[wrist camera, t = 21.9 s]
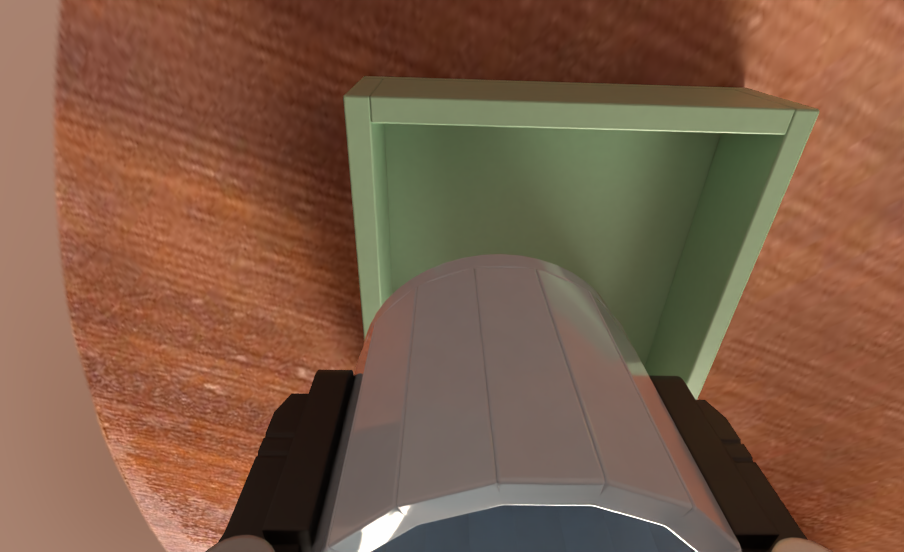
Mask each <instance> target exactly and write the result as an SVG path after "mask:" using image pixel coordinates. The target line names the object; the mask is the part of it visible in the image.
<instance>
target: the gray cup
mask: <svg viewBox="0 0 904 552" xmlns="http://www.w3.org/2000/svg"><path fill="white" fill-rule="evenodd" d="M311 552H742V549H741V546H740V544H739V542H738V540H737V538H736V536H735V535H734V533H733V531H732V529H731V527H730V525H729V523H728V522H727V520H726V518H725V516H724V514H723V512H722V510H721V509H720V507H719V505H718V503H717V501H716V499H715V497H714V496H713V494H712V492H711V490H710V488H709V486H708V485H707V483H706V481H705V479H704V477H703V475H702V473H701V472H700V470H699V468H698V466H697V464H696V462H695V460H694V459H693V457H692V455H691V453H690V451H689V449H688V447H687V446H686V444H685V442H684V440H683V438H682V436H681V434H680V433H679V431H678V429H677V427H676V425H675V423H674V421H673V420H672V418H671V416H670V414H669V412H668V410H667V409H666V407H665V405H664V403H663V401H662V399H661V397H660V396H659V394H658V392H657V390H656V388H655V386H654V384H653V383H652V381H651V379H650V377H649V375H648V373H647V371H646V370H645V368H644V366H643V364H642V362H641V360H640V358H639V357H638V355H637V353H636V351H635V349H634V347H633V345H632V344H631V342H630V340H629V338H628V336H627V334H626V333H625V331H624V329H623V327H622V325H621V323H620V322H619V321H618V320H617V319H616V318H615V317H614V316H613V314H612V312H611V310H610V308H609V307H608V305H607V303H606V302H605V301H604V300H603V298H602V297H601V296H600V295H599V293H598V292H597V291H596V290H595V289H593V288H592V287H591V286H590V285H589V284H588V283H587V282H586V281H584V280H583V279H581V278H580V277H578V276H577V275H575V274H574V273H572V272H570V271H568V270H566V269H564V268H562V267H560V266H558V265H555V264H552V263H549V262H546V261H543V260H540V259H536V258H531V257H526V256H521V255H509V254H486V255H477V256H470V257H464V258H460V259H456V260H453V261H449V262H445V263H443V264H440V265H438V266H435V267H433V268H430V269H428V270H426V271H424V272H423V273H421V274H419V275H417V276H415V277H414V278H412V279H411V280H409V281H408V282H407V283H405V284H404V285H402V286H401V287H400V288H398V289H397V290H396V291H395V292H394V293H393V294H392V295H391V296H390V297H389V298H388V299H387V300H386V301H385V302H384V304H383V305H382V306H381V308H380V309H379V310H378V312H377V313H376V315H375V317H374V318H373V320H372V322H371V324H370V326H369V329H368V332H367V335H366V337H365V341H364V345H363V349H362V351H361V354H360V356H359V358H358V361H357V365H356V369H355V373H354V377H353V382H352V386H351V390H350V394H349V398H348V402H347V406H346V410H345V414H344V419H343V423H342V427H341V431H340V435H339V439H338V443H337V447H336V451H335V456H334V460H333V464H332V468H331V472H330V476H329V480H328V484H327V488H326V493H325V497H324V501H323V505H322V509H321V513H320V517H319V521H318V525H317V529H316V534H315V538H314V542H313V546H312V550H311Z"/></svg>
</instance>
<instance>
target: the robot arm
mask: <svg viewBox="0 0 904 552" xmlns="http://www.w3.org/2000/svg"><path fill="white" fill-rule="evenodd" d="M353 377H354V374H353V371H352V370H318V371H317V372H316V375H315V377H314V380H313V383H312V386H311V389H310V392H309V394H291V395H290V396H289V397H288V398H287V399H286V400H285V401H284V402H283V404H282V405H281V406H280V407H279V408H278V409H277V410H276V411H275V412H274V414H273V417H272V419H271V422H270V424H269V427H268V429H267V431H266V437H265V438H264V439H263V441H262V444H261V446H260V448H259V451H258V456H256V458H255V460H254V463H253V465H252V468H251V470H250V473H249V475H248V477H247V480H246V482H245V485H244V487H243V490H242V492H241V494H240V497H239V499H238V502H237V504H236V507H235V509H234V511H233V514H232V516H231V519H230V521H229V523H228V526H227V528H226V530H225V532H224V534H223V536H222V537H221V539H220V540H219V542H218V543H217V544H215V545H214V546H212V547H211V548H209V549H208V550H207V551H206V552H311V550H312V546H313V542H314V538H315V534H316V529H317V525H318V521H319V517H320V513H321V509H322V505H323V501H324V497H325V493H326V488H327V484H328V480H329V476H330V472H331V468H332V464H333V460H334V456H335V451H336V447H337V443H338V439H339V435H340V431H341V427H342V423H343V419H344V414H345V410H346V406H347V402H348V398H349V394H350V390H351V386H352V382H353ZM649 377H650V379H651V381H652V383H653V384H654V386H655V388H656V390H657V392H658V394H659V396H660V397H661V399H662V401H663V403H664V405H665V407H666V409H667V410H668V412H669V414H670V416H671V418H672V420H673V421H674V423H675V425H676V427H677V429H678V431H679V433H680V434H681V436H682V438H683V440H684V442H685V444H686V446H687V447H688V449H689V451H690V453H691V455H692V457H693V459H694V460H695V462H696V464H697V466H698V468H699V470H700V472H701V473H702V475H703V477H704V479H705V481H706V483H707V485H708V486H709V488H710V490H711V492H712V494H713V496H714V497H715V499H716V501H717V503H718V505H719V507H720V509H721V510H722V512H723V514H724V516H725V518H726V520H727V522H728V523H729V525H730V527H731V529H732V531H733V533H734V535H735V536H736V538H737V540H738V542H739V544H740V546H741V549H742V552H833V551H831V550H829V549H828V548H826V547H824V546H822V545H820V544H818V543H816V542H813V541H810V540H808V539H807V538H806V536H805V535H804V534H803V532H802V531H801V529H800V528H799V526H798V525H797V523H796V522H795V521H794V519H793V518H792V516H791V515H790V513H789V512H788V510H787V509H786V507H785V506H784V504H783V503H782V501H781V500H780V498H779V497H778V495H777V494H776V492H775V491H774V489H773V488H772V486H771V485H770V483H769V482H768V480H767V479H766V477H765V476H764V474H763V473H762V471H761V470H760V468H759V467H758V465H757V464H756V462H753V460H752V456H751V455H750V453H749V452H748V450H747V449H746V447H745V446H744V444H741V442H740V438H739V437H738V435H737V434H736V432H735V431H734V429H733V428H732V426H731V425H730V423H729V422H728V420H727V419H726V418H725V417H724V416H723V415H722V414H721V413H719V412H718V411H717V410H716V409H715V408H714V407H712V406H711V405H710V404H709V403H708V402H707V401H705V400H696V399H695V398H694V396H693V394H692V393H691V391H690V390H689V388H688V386H687V385H686V383H685V382H684V380H683V379H682V378H681V377H679V376H654V375H649Z"/></svg>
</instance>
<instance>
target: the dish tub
mask: <svg viewBox="0 0 904 552" xmlns="http://www.w3.org/2000/svg"><path fill="white" fill-rule="evenodd" d="M343 101H344V113H345V124H346V136H347V147H348V159H349V170H350V182H351V194H352V205H353V217H354V228H355V240H356V251H357V263H358V274H359V286H360V298H361V309H362V321H363V332H364V341H365V337H366V335H367V332H368V329H369V326H370V324H371V322H372V320H373V318H374V317H375V315H376V313H377V312H378V310H379V309H380V308H381V306H382V305H383V304H384V302H385V301H386V300H387V299H388V298H389V297H390V296H391V295H392V294H393V293H394V292H395V291H396V290H397V289H398V288H400V287H401V286H402V285H404V284H405V283H407V282H408V281H409V280H411V279H412V278H414V277H415V276H417V275H419V274H421V273H423V272H424V271H426V270H428V269H430V268H433V267H435V266H438V265H440V264H443V263H445V262H449V261H453V260H456V259H460V258H464V257H470V256H477V255H486V254H509V255H521V256H526V257H531V258H536V259H540V260H543V261H546V262H549V263H552V264H555V265H558V266H560V267H562V268H564V269H566V270H568V271H570V272H572V273H574V274H575V275H577V276H578V277H580V278H581V279H583V280H584V281H586V282H587V283H588V284H589V285H590V286H591V287H592V288H593V289H595V290H596V291H597V292H598V293H599V295H600V296H601V297H602V298H603V300H604V301H605V302H606V303H607V305H608V307H609V308H610V310H611V312H612V314H613V316H614V317H615V318H616V319H617V320H618V321H619V322H620V323H621V325H622V327H623V329H624V331H625V333H626V334H627V336H628V338H629V340H630V342H631V344H632V345H633V347H634V349H635V351H636V353H637V355H638V357H639V358H640V360H641V362H642V364H643V366H644V368H645V370H646V371H647V373H648V375H654V376H679V377H681V378H682V379H683V380H684V382H685V383H686V385H687V386H688V388H689V390H690V391H691V393H692V394H693V396H694V398H695V399H696V400H697V399H698V396H699V394H700V392H701V389H702V387H703V385H704V382H705V380H706V377H707V375H708V373H709V370H710V368H711V366H712V363H713V361H714V359H715V356H716V354H717V352H718V349H719V347H720V345H721V342H722V340H723V338H724V335H725V333H726V330H727V328H728V326H729V323H730V321H731V319H732V316H733V314H734V312H735V309H736V307H737V305H738V302H739V300H740V298H741V295H742V293H743V290H744V288H745V286H746V283H747V281H748V279H749V276H750V274H751V272H752V269H753V267H754V265H755V262H756V260H757V258H758V255H759V253H760V250H761V248H762V246H763V243H764V241H765V239H766V236H767V234H768V232H769V229H770V227H771V225H772V222H773V220H774V218H775V215H776V213H777V211H778V208H779V206H780V203H781V201H782V199H783V196H784V194H785V192H786V189H787V187H788V185H789V182H790V180H791V178H792V175H793V173H794V171H795V168H796V166H797V163H798V161H799V159H800V156H801V154H802V152H803V149H804V147H805V145H806V142H807V140H808V138H809V135H810V133H811V131H812V128H813V126H814V124H815V121H816V119H817V116H818V114H819V110H818V109H816V108H813V107H809V106H806V105H802V104H799V103H796V102H792V101H789V100H785V99H782V98H779V97H775V96H772V95H768V94H765V93H762V92H758V91H755V90H752V89H748V88H737V87H705V86H673V85H640V84H608V83H576V82H544V81H512V80H479V79H447V78H415V77H383V76H364V77H363V78H362V79H361V80H360V81H359V82H357V83H356V84H355V85H354V86H353V87H352V88H351V89H350V90H349V91H348V92H347V93H346V94H345V95H344V96H343Z"/></svg>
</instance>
